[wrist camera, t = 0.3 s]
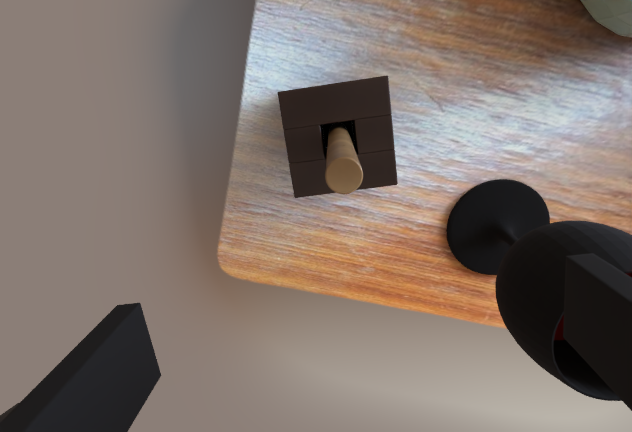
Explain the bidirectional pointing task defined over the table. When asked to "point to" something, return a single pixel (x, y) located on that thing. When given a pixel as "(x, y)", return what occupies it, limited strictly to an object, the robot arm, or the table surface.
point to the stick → (342, 161)
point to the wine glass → (533, 269)
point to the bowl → (612, 14)
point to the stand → (330, 107)
